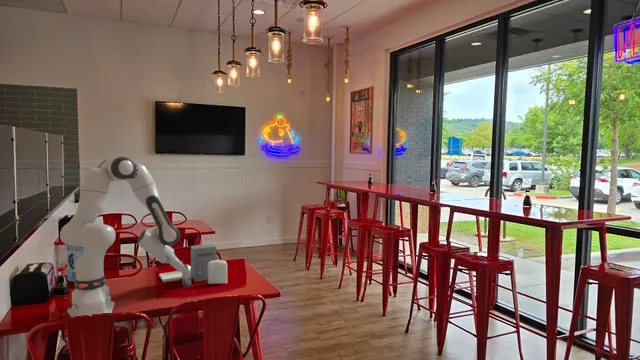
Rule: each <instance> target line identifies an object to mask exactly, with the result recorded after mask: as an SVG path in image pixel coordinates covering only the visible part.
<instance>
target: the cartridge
mask: <svg viewBox="0 0 640 360" xmlns="http://www.w3.org/2000/svg"><path fill="white" fill-rule="evenodd" d="M183 265H184V266H185V268H186V269H187V270H188V271H189V272H188V273H187V274H186V273H185V272H183V271H182V280H181V282H182V283H181V284H182V285H183V286H182V285H181V286H182V287H190V285H191V286H192V275H191V264H183Z"/></svg>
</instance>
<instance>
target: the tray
mask: <svg viewBox="0 0 640 360" xmlns="http://www.w3.org/2000/svg"><path fill="white" fill-rule="evenodd" d="M158 276H159V279H160V280H161V281H162V283H167V282H175V281H180V279H182V271H181V272H179V271H178V270H175V271H170V272H163V273H159V275H158Z"/></svg>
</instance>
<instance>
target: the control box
mask: <svg viewBox="0 0 640 360" xmlns="http://www.w3.org/2000/svg"><path fill="white" fill-rule="evenodd" d="M214 260H218V259H217V245H215V244H213V243H205V244H204V243H203V244H196V245H191V246H190V266H191V280H193V281H194V283H198V282H202V281H208V263H209V262H210V261H214ZM197 281H198V282H197Z"/></svg>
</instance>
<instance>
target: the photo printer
mask: <svg viewBox="0 0 640 360" xmlns="http://www.w3.org/2000/svg"><path fill="white" fill-rule="evenodd" d="M207 284H208V285H214V284H217V285H218V284H228V263H227V260H222V259H217V260H214V261H210V262H209V263H208V280H207Z"/></svg>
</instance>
